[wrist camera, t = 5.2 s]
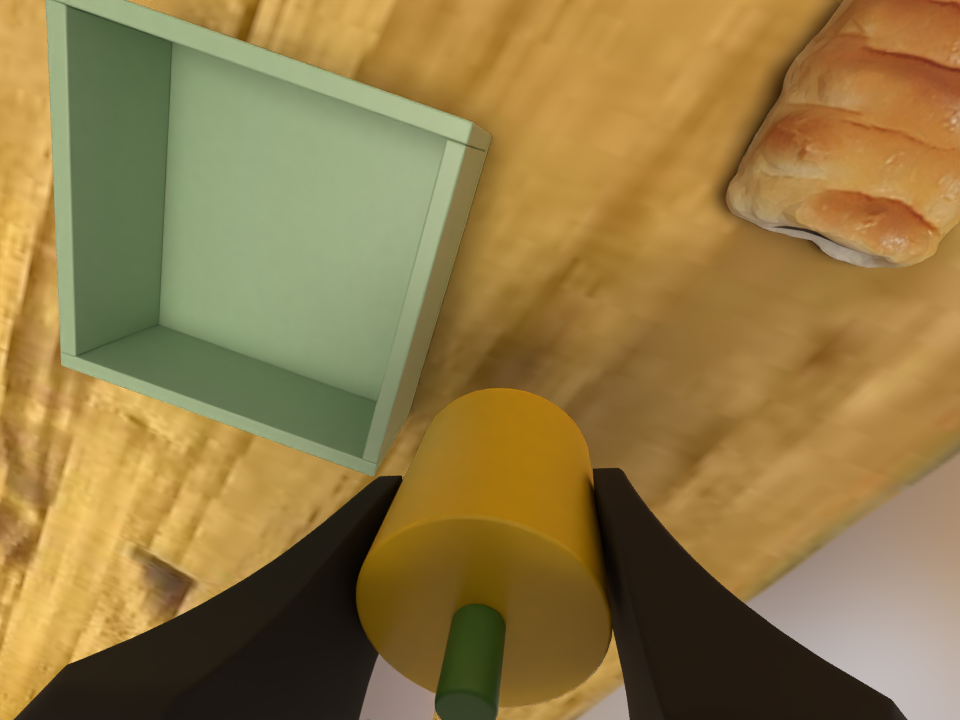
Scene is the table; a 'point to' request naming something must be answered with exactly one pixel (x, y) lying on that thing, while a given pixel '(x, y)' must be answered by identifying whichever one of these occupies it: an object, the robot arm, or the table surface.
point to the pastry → (863, 137)
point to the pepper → (491, 560)
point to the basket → (249, 228)
